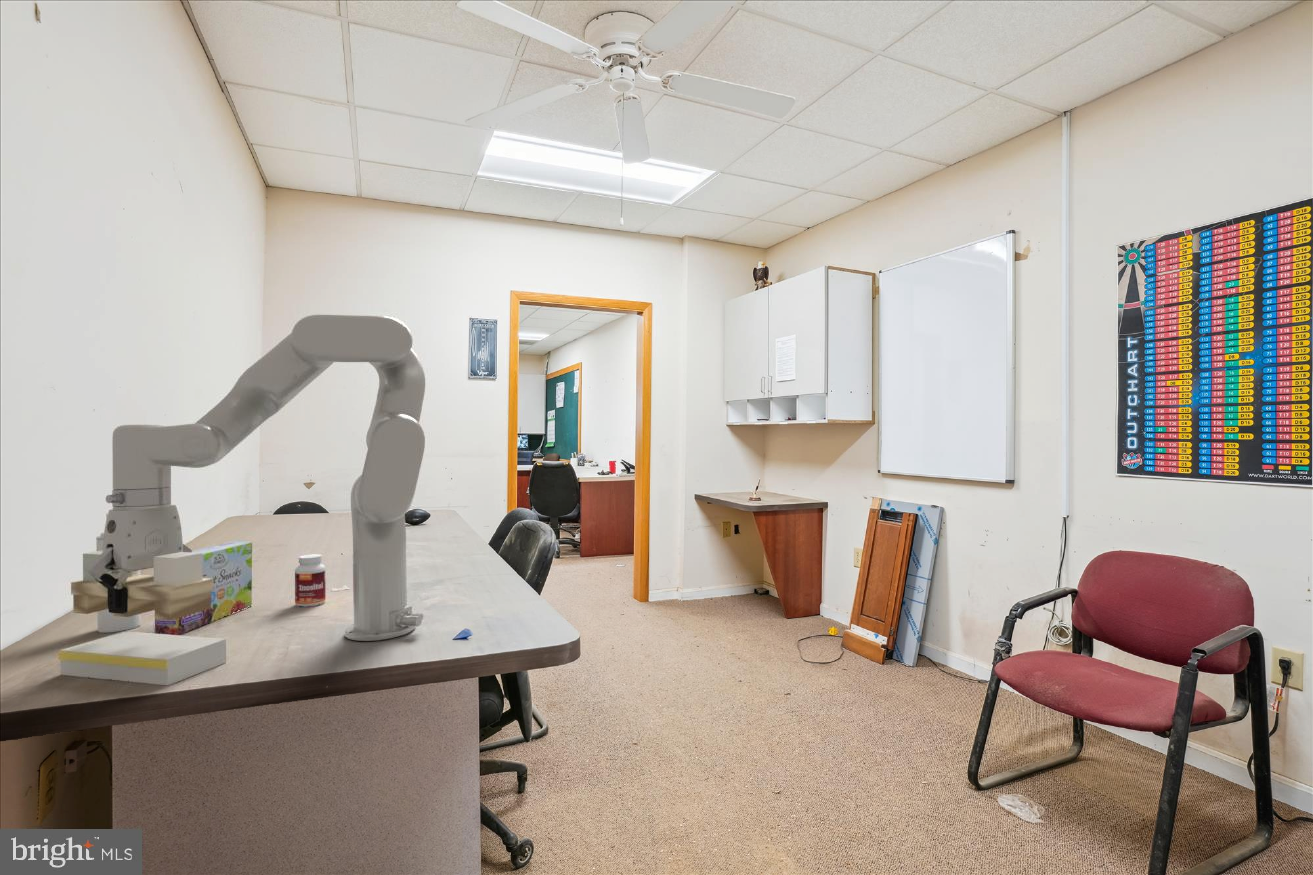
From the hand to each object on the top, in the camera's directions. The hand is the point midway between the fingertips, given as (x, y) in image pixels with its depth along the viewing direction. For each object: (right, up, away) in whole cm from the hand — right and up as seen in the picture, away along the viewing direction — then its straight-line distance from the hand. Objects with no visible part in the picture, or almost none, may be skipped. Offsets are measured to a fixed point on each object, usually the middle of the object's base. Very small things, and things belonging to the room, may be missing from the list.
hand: (143, 605), depth 104 cm
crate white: (+7, +4, -2) cm, 9 cm away
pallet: (0, -1, 0) cm, 1 cm away
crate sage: (-7, +4, +2) cm, 9 cm away
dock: (0, -10, 0) cm, 10 cm away
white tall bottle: (-24, -11, +23) cm, 35 cm away
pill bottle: (+6, -11, +40) cm, 42 cm away
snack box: (-9, -11, +28) cm, 32 cm away
